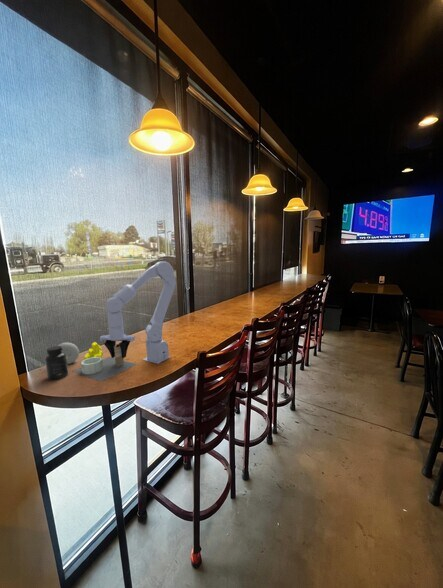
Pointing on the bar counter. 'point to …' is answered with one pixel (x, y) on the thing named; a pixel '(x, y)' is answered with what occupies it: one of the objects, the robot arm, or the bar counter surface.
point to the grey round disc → (72, 350)
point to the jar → (92, 365)
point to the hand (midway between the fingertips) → (119, 357)
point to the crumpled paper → (94, 351)
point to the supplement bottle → (56, 363)
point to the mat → (107, 369)
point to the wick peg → (118, 355)
